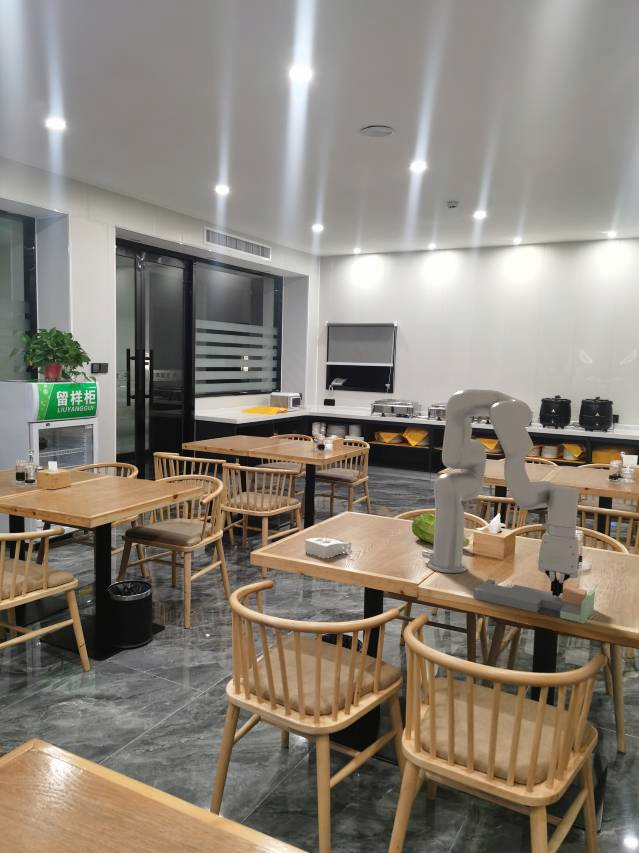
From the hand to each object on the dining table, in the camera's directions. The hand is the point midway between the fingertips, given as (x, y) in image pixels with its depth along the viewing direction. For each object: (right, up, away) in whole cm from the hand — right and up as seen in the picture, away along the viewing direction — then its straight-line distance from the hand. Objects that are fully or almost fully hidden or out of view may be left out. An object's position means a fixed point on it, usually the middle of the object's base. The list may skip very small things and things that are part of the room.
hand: (556, 594), depth 179 cm
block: (+4, -1, -2) cm, 5 cm away
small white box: (-62, +3, +45) cm, 77 cm away
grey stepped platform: (-6, -3, +1) cm, 7 cm away
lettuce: (-21, +3, +61) cm, 64 cm away
